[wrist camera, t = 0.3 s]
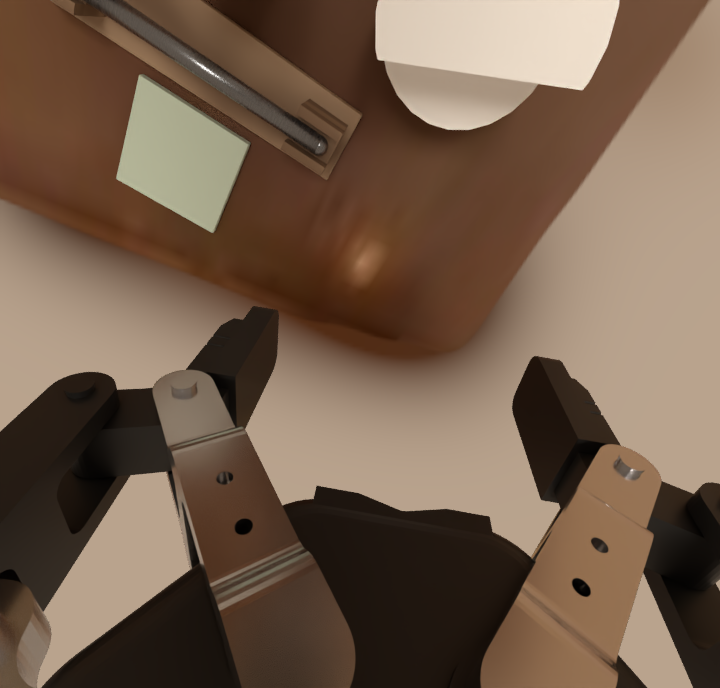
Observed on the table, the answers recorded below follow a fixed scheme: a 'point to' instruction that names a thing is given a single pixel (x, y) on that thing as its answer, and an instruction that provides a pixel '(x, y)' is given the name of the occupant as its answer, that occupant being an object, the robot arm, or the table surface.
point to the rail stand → (236, 73)
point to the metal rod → (210, 72)
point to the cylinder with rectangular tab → (487, 53)
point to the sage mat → (180, 155)
